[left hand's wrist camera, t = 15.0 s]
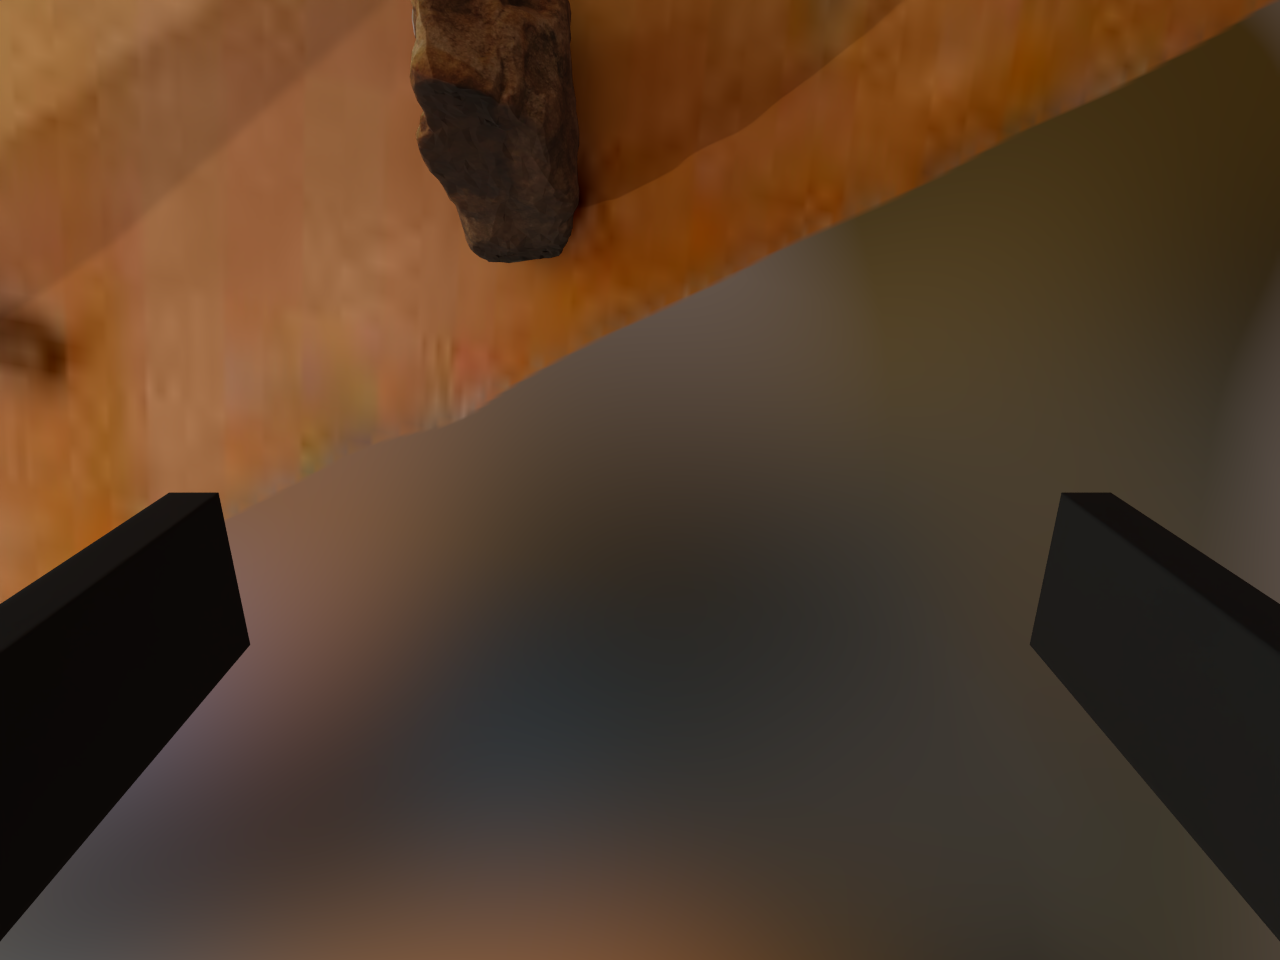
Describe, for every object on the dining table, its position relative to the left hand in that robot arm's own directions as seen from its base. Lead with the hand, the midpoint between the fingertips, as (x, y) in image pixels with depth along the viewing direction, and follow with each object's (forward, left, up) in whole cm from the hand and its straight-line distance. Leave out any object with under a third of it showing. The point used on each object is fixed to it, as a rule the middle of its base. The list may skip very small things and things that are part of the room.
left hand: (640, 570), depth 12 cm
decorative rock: (+6, -8, -29) cm, 30 cm away
